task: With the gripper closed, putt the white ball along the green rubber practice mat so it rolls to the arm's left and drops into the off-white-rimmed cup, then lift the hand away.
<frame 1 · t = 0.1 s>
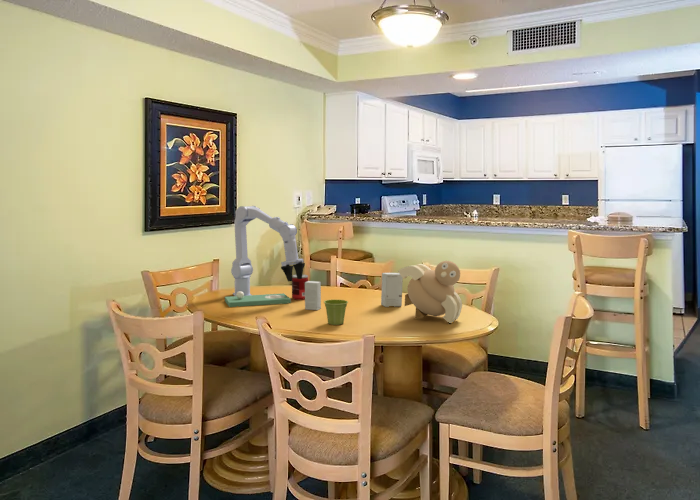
hand: (295, 280, 254), 11 cm above the table, tool pointing down, fingers open, 7 cm apart
plant pot: (335, 323, 216), on the table
green: (257, 302, 256), on the table
skincare box 2: (391, 305, 251), on the table
skincare box: (312, 309, 242), on the table
canned food: (299, 298, 266), on the table
ball: (240, 295, 252), point 4 cm above the table, touching green
chick figurine: (431, 318, 226), on the table
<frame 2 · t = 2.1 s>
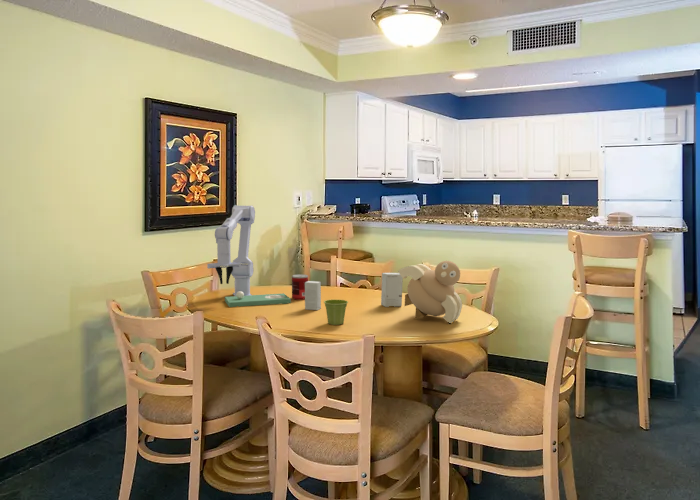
hand: (224, 283, 249), 9 cm above the table, tool pointing down, fingers closed
nothing on the table moved.
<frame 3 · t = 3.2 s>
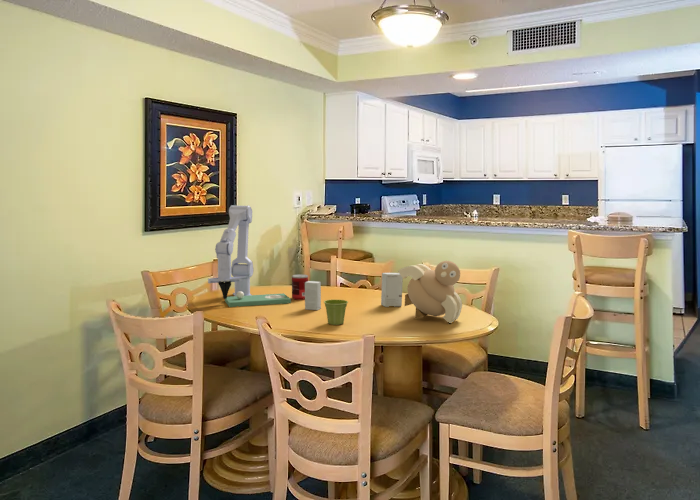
hand: (224, 298, 250), 3 cm above the table, tool pointing down, fingers closed
nothing on the table moved.
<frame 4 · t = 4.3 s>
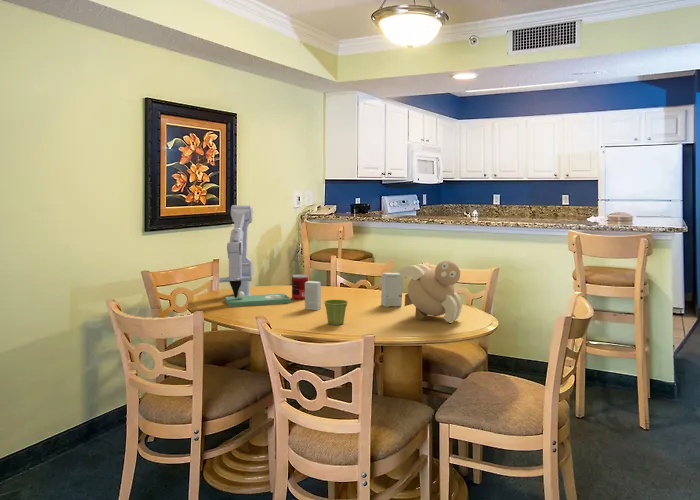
hand: (235, 297, 252), 3 cm above the table, tool pointing down, fingers closed, pressing on ball
ball: (240, 295, 252), point 4 cm above the table, tilted 6°, touching green, gripper
everything else where it was.
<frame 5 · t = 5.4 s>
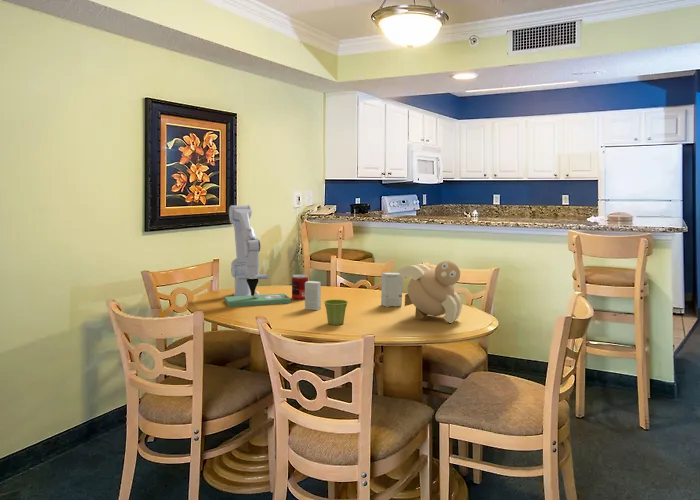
hand: (252, 295, 253), 3 cm above the table, tool pointing down, fingers closed, pressing on ball
ball: (255, 294, 254), point 4 cm above the table, tilted 126°, touching green, gripper
everything else where it was.
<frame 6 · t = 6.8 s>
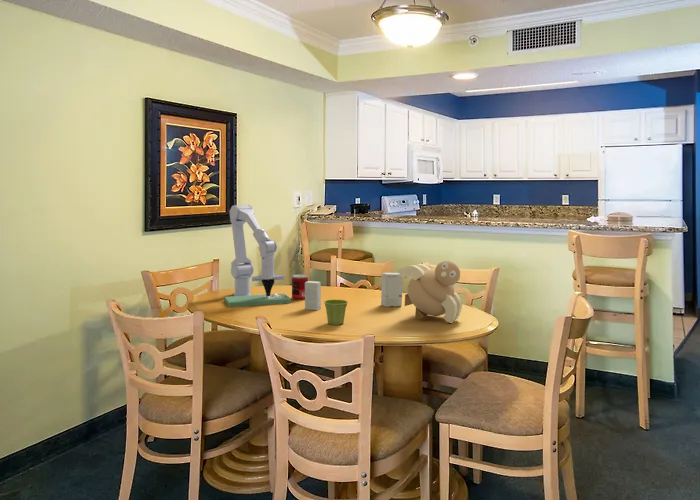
hand: (268, 295, 257), 3 cm above the table, tool pointing down, fingers closed
ball: (274, 297, 259), point 2 cm above the table, tilted 123°
everything else where it was.
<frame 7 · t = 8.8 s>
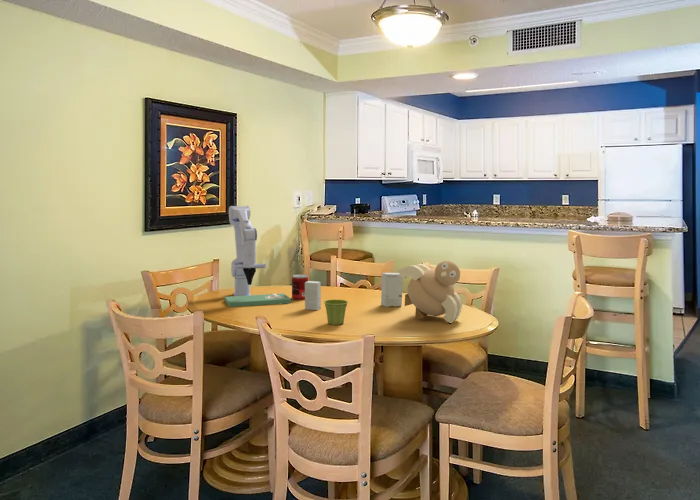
hand: (249, 284, 253), 8 cm above the table, tool pointing down, fingers closed
nothing on the table moved.
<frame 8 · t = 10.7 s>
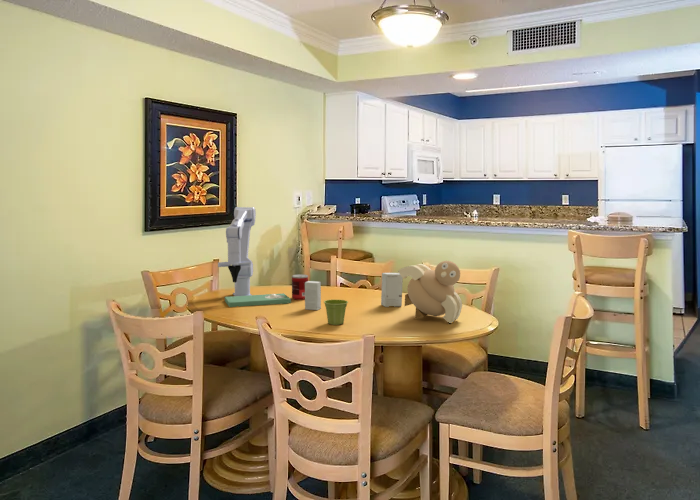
hand: (234, 282, 254), 9 cm above the table, tool pointing down, fingers closed
at the end: ball 0.8 cm from the target spot in the green, point 1.7 cm above the green's base; ball touching table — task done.
